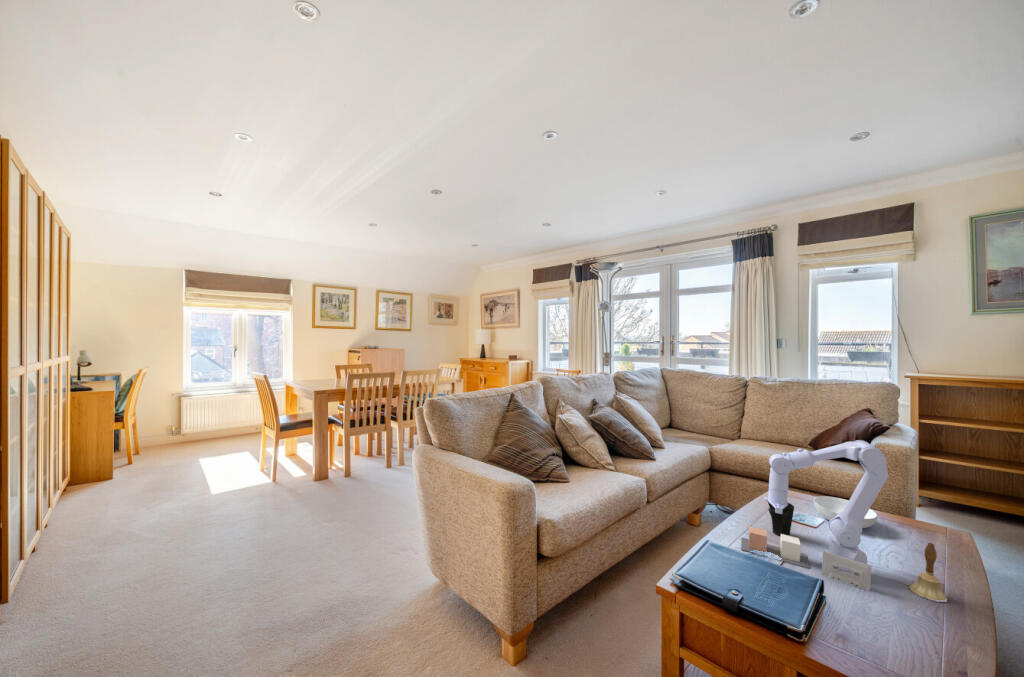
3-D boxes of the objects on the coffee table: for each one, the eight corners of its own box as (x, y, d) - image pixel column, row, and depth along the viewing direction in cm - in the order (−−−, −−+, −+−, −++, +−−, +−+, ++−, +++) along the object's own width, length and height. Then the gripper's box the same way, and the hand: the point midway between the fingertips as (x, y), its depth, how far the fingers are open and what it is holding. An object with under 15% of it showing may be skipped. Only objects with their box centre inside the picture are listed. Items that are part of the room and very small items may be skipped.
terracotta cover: (765, 546, 147) (766, 530, 146) (766, 553, 142) (767, 536, 142) (748, 541, 149) (749, 526, 149) (748, 548, 145) (749, 532, 145)
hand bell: (953, 607, 117) (956, 553, 117) (915, 596, 121) (918, 545, 121) (940, 591, 124) (943, 541, 124) (904, 582, 128) (907, 533, 128)
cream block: (797, 554, 142) (798, 538, 141) (799, 562, 137) (800, 545, 137) (779, 549, 144) (780, 533, 144) (780, 556, 140) (781, 540, 140)
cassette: (821, 575, 131) (822, 552, 130) (821, 572, 132) (823, 550, 132) (870, 592, 123) (871, 567, 122) (870, 589, 124) (871, 565, 124)
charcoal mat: (805, 554, 142) (805, 553, 142) (809, 568, 134) (809, 567, 134) (741, 538, 153) (741, 537, 152) (741, 550, 144) (741, 549, 144)
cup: (797, 539, 153) (799, 508, 153) (777, 538, 153) (779, 508, 153) (784, 529, 161) (785, 500, 161) (765, 528, 161) (766, 499, 161)
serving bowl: (826, 529, 162) (826, 513, 162) (804, 508, 182) (805, 493, 182) (888, 539, 156) (889, 521, 156) (859, 515, 176) (860, 500, 176)
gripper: (764, 479, 151) (762, 514, 151) (766, 492, 138) (763, 530, 138) (786, 484, 147) (784, 520, 147) (790, 497, 134) (788, 536, 135)
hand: (776, 525), depth 143 cm, fingers open, 7 cm apart
